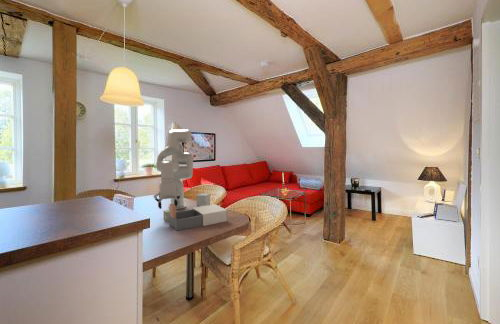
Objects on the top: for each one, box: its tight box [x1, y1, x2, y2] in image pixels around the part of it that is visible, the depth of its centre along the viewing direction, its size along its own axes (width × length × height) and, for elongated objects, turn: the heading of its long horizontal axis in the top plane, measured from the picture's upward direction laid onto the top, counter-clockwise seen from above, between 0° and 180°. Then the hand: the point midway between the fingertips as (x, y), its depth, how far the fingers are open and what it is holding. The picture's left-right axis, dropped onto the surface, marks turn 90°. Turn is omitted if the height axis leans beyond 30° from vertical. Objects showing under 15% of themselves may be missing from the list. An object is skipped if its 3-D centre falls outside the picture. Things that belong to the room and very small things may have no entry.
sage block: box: [163, 208, 170, 222], centre depth 157 cm, size 5×5×6 cm
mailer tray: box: [168, 203, 203, 231], centre depth 148 cm, size 16×19×13 cm
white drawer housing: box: [191, 203, 228, 227], centre depth 157 cm, size 18×16×7 cm
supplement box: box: [196, 192, 211, 207], centre depth 174 cm, size 7×7×13 cm
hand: (168, 207), depth 156 cm, fingers open, 9 cm apart
